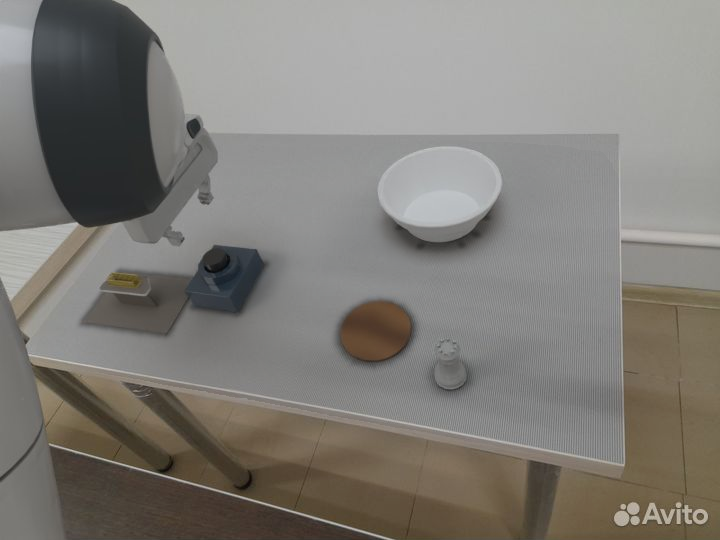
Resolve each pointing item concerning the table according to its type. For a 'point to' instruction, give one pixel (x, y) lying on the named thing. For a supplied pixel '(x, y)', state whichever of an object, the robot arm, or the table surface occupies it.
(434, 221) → the bowl
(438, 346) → the rook chess piece
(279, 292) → the table surface
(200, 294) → the blue push button box
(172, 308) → the platform
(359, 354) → the coaster
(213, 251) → the dark grey push button
